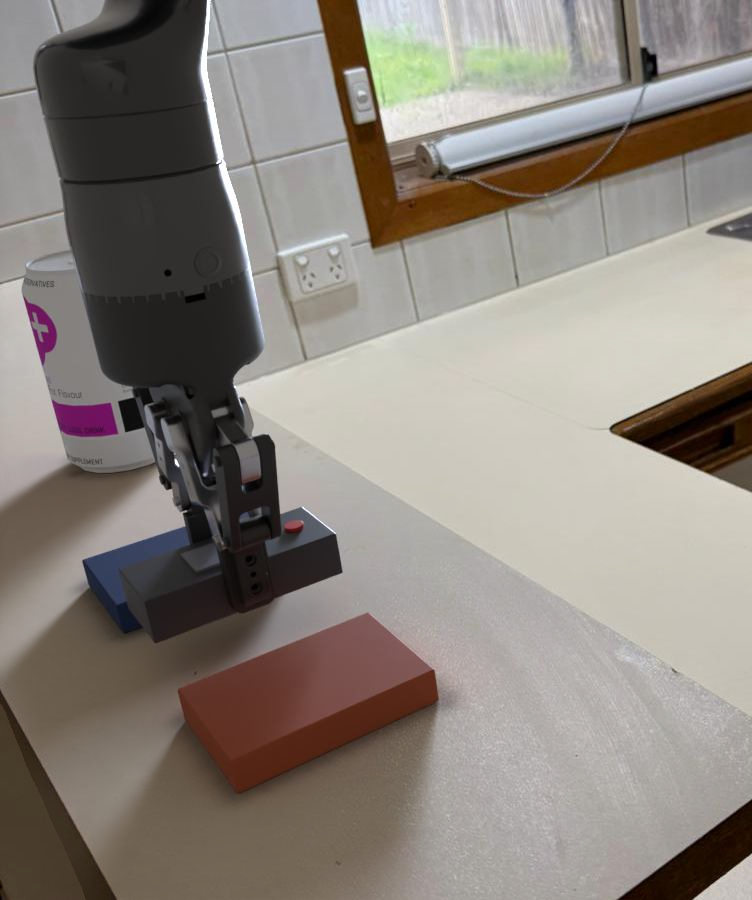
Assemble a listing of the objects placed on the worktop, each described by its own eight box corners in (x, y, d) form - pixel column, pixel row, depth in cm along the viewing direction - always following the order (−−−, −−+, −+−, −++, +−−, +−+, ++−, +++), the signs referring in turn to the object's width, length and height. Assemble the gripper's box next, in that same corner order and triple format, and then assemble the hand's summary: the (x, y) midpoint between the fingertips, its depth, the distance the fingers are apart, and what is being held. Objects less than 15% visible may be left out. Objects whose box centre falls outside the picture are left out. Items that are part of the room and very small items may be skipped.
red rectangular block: (184, 719, 54) (176, 688, 54) (373, 640, 60) (368, 611, 59) (238, 794, 49) (230, 760, 48) (439, 700, 55) (435, 669, 54)
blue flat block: (88, 586, 67) (81, 559, 66) (251, 530, 72) (246, 505, 72) (123, 634, 62) (115, 606, 61) (295, 571, 67) (290, 544, 66)
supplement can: (71, 486, 81) (14, 279, 75) (69, 446, 88) (17, 254, 82) (190, 461, 84) (144, 260, 78) (179, 424, 90) (136, 237, 84)
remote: (155, 644, 55) (142, 598, 54) (128, 609, 59) (116, 565, 58) (343, 573, 61) (335, 529, 60) (309, 544, 64) (301, 502, 63)
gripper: (43, 259, 56) (123, 563, 63) (127, 315, 45) (214, 674, 52) (193, 231, 60) (253, 519, 67) (303, 276, 49) (362, 614, 56)
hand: (236, 586), depth 60 cm, fingers closed on remote, 4 cm apart
